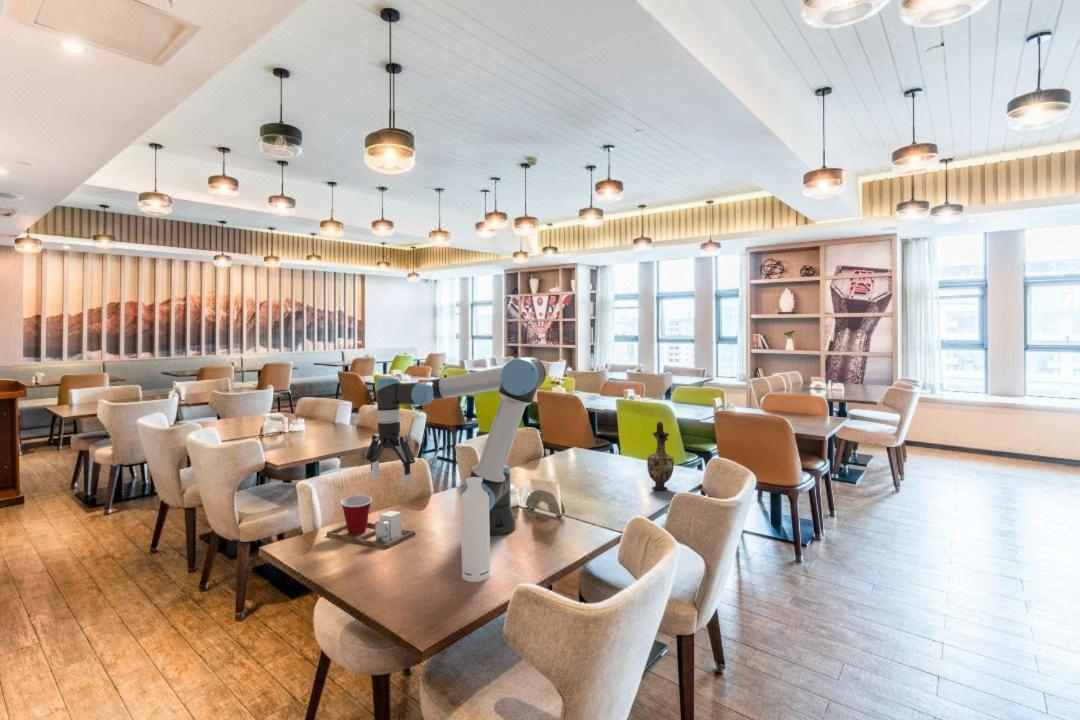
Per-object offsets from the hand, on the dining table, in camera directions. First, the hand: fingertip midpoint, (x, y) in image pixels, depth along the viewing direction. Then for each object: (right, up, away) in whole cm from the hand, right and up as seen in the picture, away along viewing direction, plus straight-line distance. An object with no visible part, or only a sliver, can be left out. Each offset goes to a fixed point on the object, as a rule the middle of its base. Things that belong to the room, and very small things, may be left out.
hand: (390, 482), depth 184 cm
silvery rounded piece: (-1, -19, -6) cm, 20 cm away
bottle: (+34, -20, -33) cm, 51 cm away
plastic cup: (-13, -19, +4) cm, 24 cm away
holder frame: (-7, -19, +1) cm, 20 cm away
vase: (+107, -16, +54) cm, 121 cm away
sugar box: (0, -19, 0) cm, 19 cm away
